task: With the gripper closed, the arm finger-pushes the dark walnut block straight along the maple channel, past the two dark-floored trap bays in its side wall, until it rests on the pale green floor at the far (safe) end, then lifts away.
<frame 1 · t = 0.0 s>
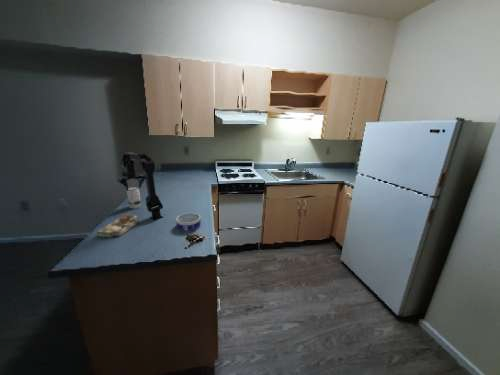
hand: (133, 189, 162), 15 cm above the counter, fingers open, 9 cm apart
supplement can: (135, 207, 168), on the counter
walnut block: (126, 221, 143), resting on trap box
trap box: (119, 227, 136), on the counter
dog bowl: (188, 226, 141), on the counter
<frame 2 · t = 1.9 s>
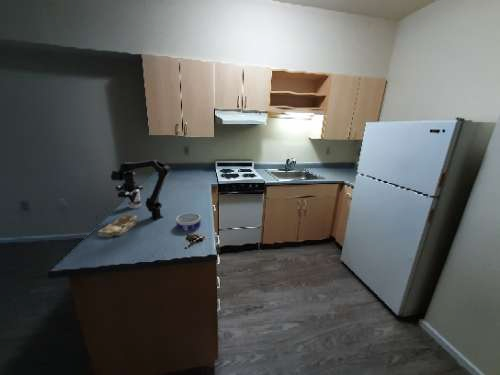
hand: (132, 202, 148), 11 cm above the counter, fingers closed
nothing on the counter moved.
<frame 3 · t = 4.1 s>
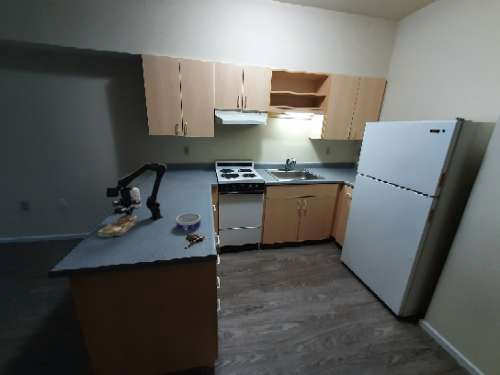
hand: (129, 217, 145), 2 cm above the counter, fingers closed
walnut block: (125, 222, 141), point 1 cm above the counter, touching gripper, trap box
everything else where it was.
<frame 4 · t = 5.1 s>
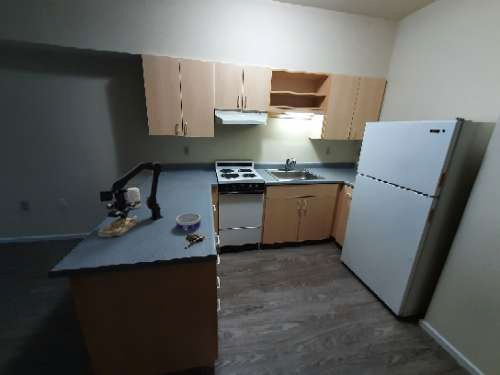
hand: (124, 221, 141), 2 cm above the counter, fingers closed
walnut block: (119, 226, 136), resting on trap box, touching gripper
everything else where it was.
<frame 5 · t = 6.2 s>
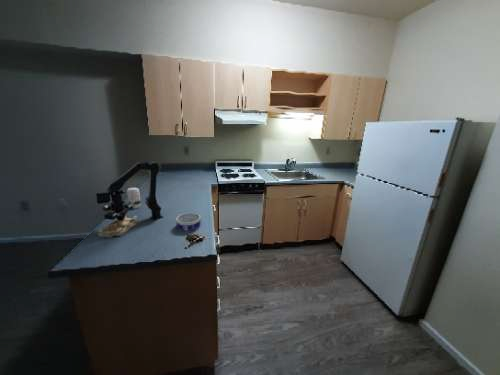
hand: (121, 223, 138), 2 cm above the counter, fingers closed
walnut block: (116, 228, 134), resting on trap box, touching gripper
everything else where it was.
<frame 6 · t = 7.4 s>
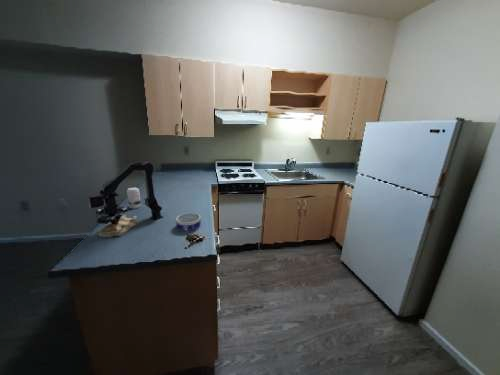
hand: (115, 227, 133), 2 cm above the counter, fingers closed
walnut block: (110, 232, 129), resting on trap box, touching gripper
everything else where it was.
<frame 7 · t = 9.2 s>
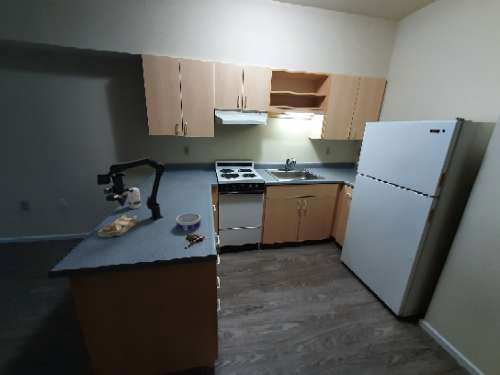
hand: (122, 206, 139), 12 cm above the counter, fingers closed
walnut block: (110, 232, 129), resting on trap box
everything else where it was.
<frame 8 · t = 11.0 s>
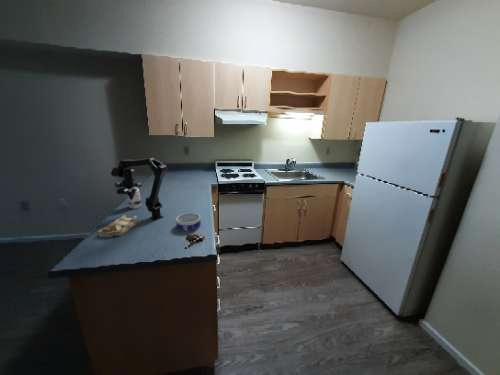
hand: (131, 199, 150), 12 cm above the counter, fingers closed
nothing on the counter moved.
at the end: walnut block inside the target area (0.6 cm from its centre), point 0.5 cm above the counter; walnut block tilted 0°; walnut block moved 14.7 cm from its start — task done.
